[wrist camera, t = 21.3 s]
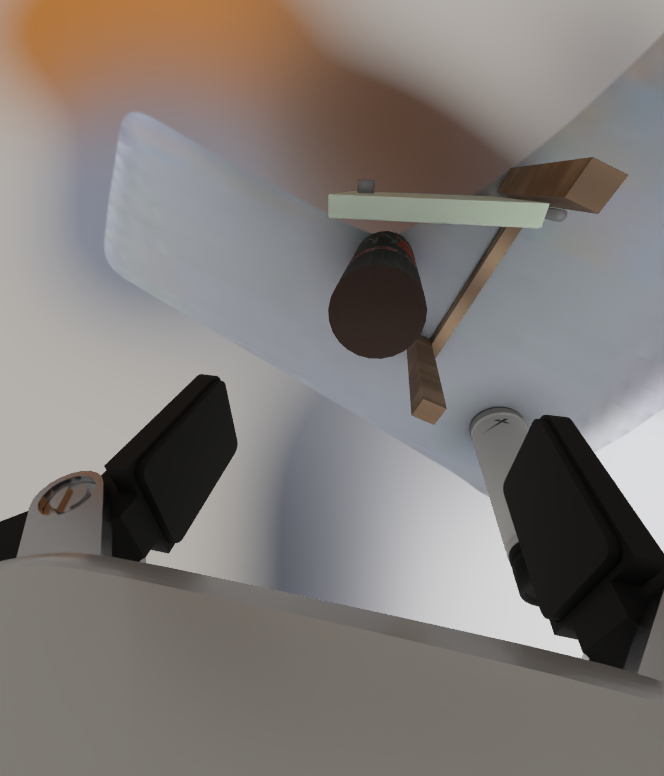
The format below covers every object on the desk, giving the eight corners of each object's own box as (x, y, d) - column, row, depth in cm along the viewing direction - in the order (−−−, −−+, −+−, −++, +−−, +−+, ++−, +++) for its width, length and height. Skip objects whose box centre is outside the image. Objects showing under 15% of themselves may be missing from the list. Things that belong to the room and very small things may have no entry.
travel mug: (484, 398, 38) (554, 564, 21) (534, 417, 38) (642, 595, 22) (457, 434, 41) (499, 601, 25) (503, 451, 42) (575, 627, 25)
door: (514, 185, 26) (587, 186, 16) (506, 213, 27) (570, 229, 17) (352, 179, 28) (328, 177, 18) (350, 206, 29) (328, 217, 19)
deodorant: (349, 237, 31) (319, 273, 18) (412, 225, 29) (425, 256, 17) (358, 296, 34) (337, 362, 21) (415, 289, 32) (428, 354, 20)
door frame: (511, 168, 26) (593, 157, 15) (545, 184, 26) (649, 185, 15) (406, 346, 36) (411, 415, 25) (431, 357, 36) (447, 430, 25)
